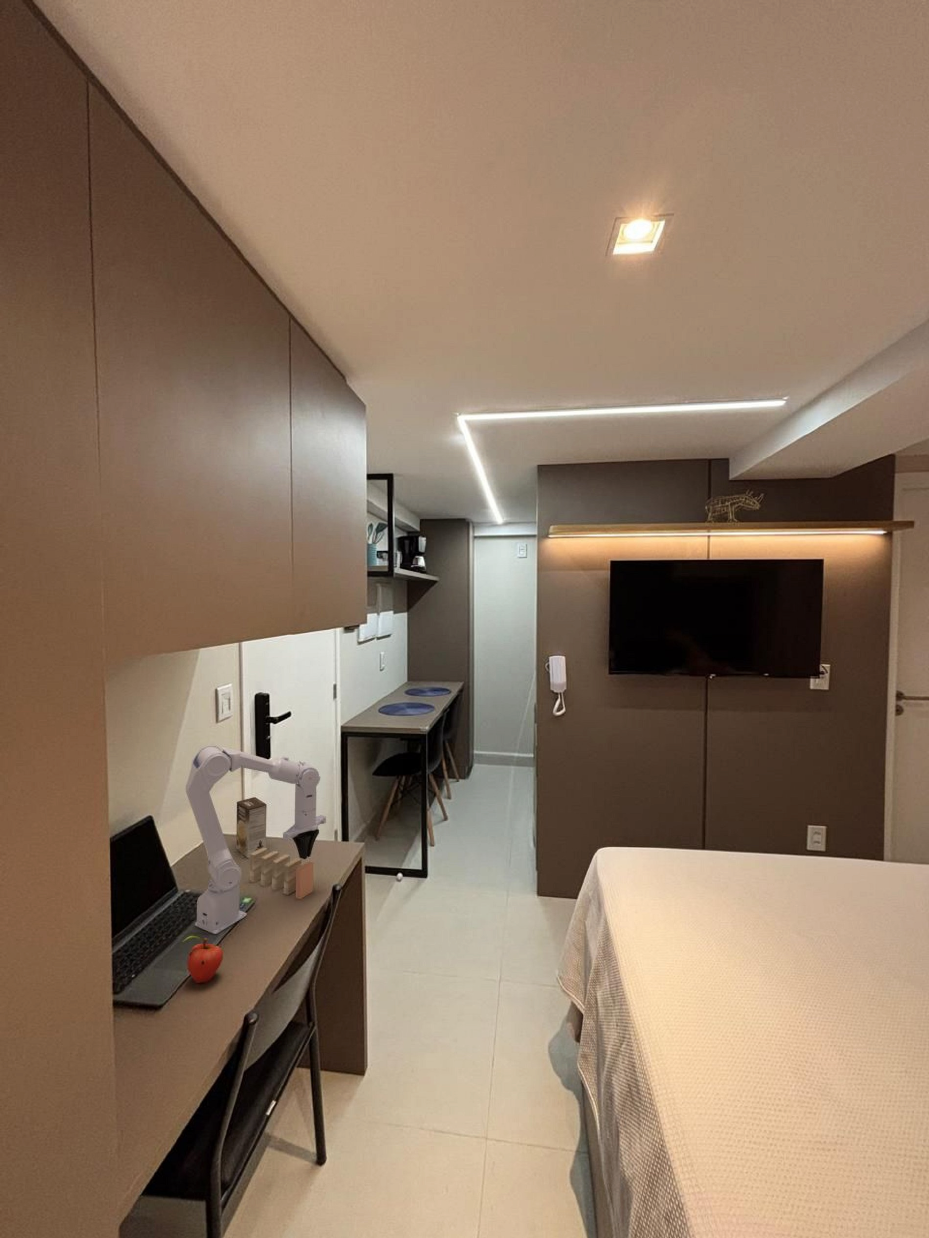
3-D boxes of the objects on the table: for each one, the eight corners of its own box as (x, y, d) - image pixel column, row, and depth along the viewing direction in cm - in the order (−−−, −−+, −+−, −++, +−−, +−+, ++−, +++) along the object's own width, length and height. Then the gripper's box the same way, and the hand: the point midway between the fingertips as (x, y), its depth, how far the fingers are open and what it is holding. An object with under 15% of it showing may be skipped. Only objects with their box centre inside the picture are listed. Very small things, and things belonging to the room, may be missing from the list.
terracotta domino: (295, 897, 147) (296, 868, 147) (308, 889, 152) (309, 861, 152) (300, 899, 147) (300, 870, 146) (313, 890, 151) (313, 862, 151)
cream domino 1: (267, 875, 159) (267, 848, 159) (253, 882, 155) (254, 855, 155) (263, 873, 160) (263, 847, 160) (249, 881, 156) (250, 853, 156)
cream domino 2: (278, 878, 157) (278, 851, 157) (264, 886, 153) (265, 858, 153) (274, 877, 158) (274, 850, 158) (260, 885, 154) (261, 857, 153)
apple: (213, 963, 120) (214, 919, 119) (228, 977, 115) (228, 931, 115) (177, 981, 114) (177, 934, 114) (191, 996, 109) (191, 948, 109)
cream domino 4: (301, 886, 153) (301, 859, 153) (287, 894, 149) (288, 866, 149) (297, 885, 154) (297, 857, 154) (283, 893, 149) (284, 864, 149)
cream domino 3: (289, 882, 155) (289, 855, 155) (276, 890, 151) (276, 862, 151) (285, 881, 156) (285, 854, 156) (272, 889, 152) (272, 861, 151)
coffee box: (235, 849, 176) (235, 801, 175) (254, 843, 180) (254, 796, 180) (247, 859, 169) (248, 808, 169) (267, 852, 174) (267, 803, 174)
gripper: (296, 820, 140) (296, 871, 141) (334, 802, 153) (333, 850, 154) (277, 814, 144) (276, 865, 144) (315, 798, 157) (315, 844, 157)
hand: (304, 857), depth 149 cm, fingers closed
